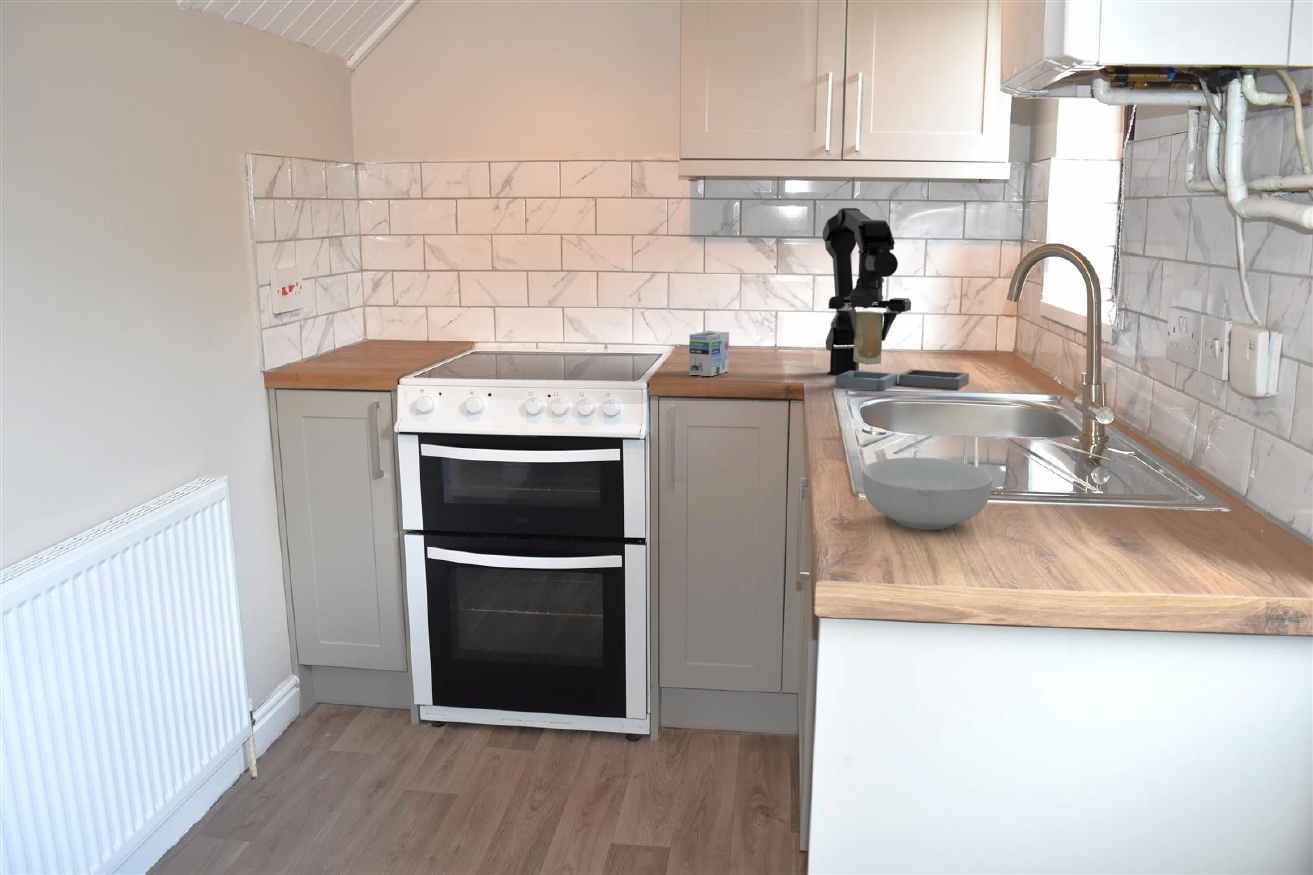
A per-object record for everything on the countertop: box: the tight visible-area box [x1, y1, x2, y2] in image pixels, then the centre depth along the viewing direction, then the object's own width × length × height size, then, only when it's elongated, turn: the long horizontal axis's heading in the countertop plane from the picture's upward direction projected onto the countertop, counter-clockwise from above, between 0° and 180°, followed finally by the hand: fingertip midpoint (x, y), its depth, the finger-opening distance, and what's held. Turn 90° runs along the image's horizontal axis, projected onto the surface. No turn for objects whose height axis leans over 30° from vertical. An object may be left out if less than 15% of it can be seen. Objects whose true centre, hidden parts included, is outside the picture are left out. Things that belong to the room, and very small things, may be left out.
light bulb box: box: [689, 330, 730, 376], centre depth 270 cm, size 11×7×11 cm, turn 151°
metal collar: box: [897, 368, 970, 391], centre depth 253 cm, size 14×10×2 cm
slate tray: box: [834, 370, 899, 391], centre depth 252 cm, size 12×12×2 cm
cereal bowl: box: [862, 457, 993, 531], centre depth 141 cm, size 17×17×7 cm
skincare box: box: [853, 310, 884, 365], centre depth 250 cm, size 6×4×12 cm
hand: (868, 339), depth 250 cm, fingers closed on skincare box, 7 cm apart
